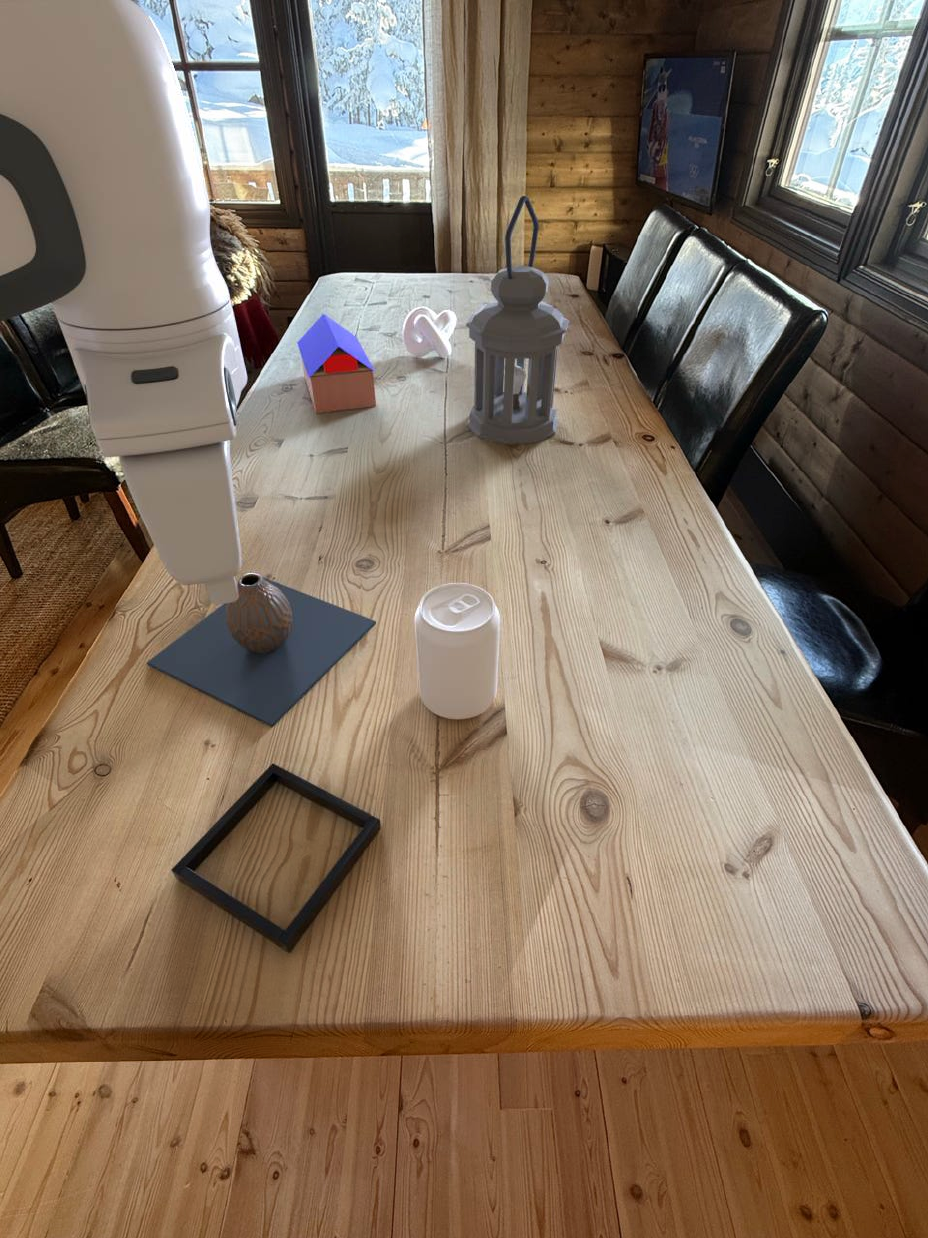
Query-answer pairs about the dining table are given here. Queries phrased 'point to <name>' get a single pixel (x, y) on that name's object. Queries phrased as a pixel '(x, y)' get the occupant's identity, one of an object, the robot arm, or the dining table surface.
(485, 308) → the lantern
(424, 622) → the beverage can
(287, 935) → the black open square frame
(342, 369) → the house
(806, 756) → the dining table surface
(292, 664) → the mat
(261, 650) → the vase
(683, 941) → the dining table surface
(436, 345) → the white knot sculpture
